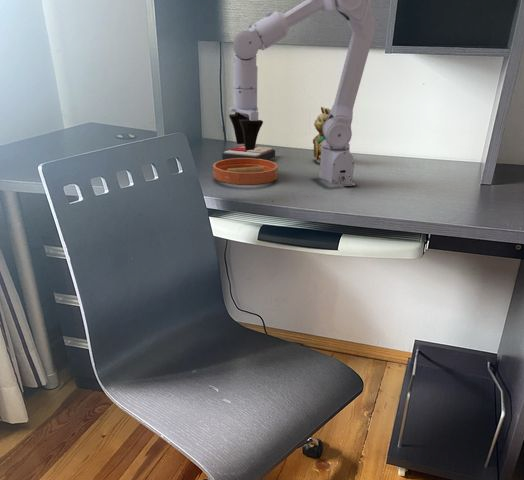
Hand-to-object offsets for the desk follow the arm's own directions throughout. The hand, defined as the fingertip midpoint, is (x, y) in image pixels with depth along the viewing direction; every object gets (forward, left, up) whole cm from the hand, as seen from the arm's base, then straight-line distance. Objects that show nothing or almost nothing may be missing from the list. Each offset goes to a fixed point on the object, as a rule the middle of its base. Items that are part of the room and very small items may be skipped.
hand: (245, 146), depth 137 cm
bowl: (0, 0, -9) cm, 9 cm away
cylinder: (0, 0, -7) cm, 7 cm away
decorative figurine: (+15, -30, -1) cm, 33 cm away
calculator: (+19, -7, -9) cm, 22 cm away
